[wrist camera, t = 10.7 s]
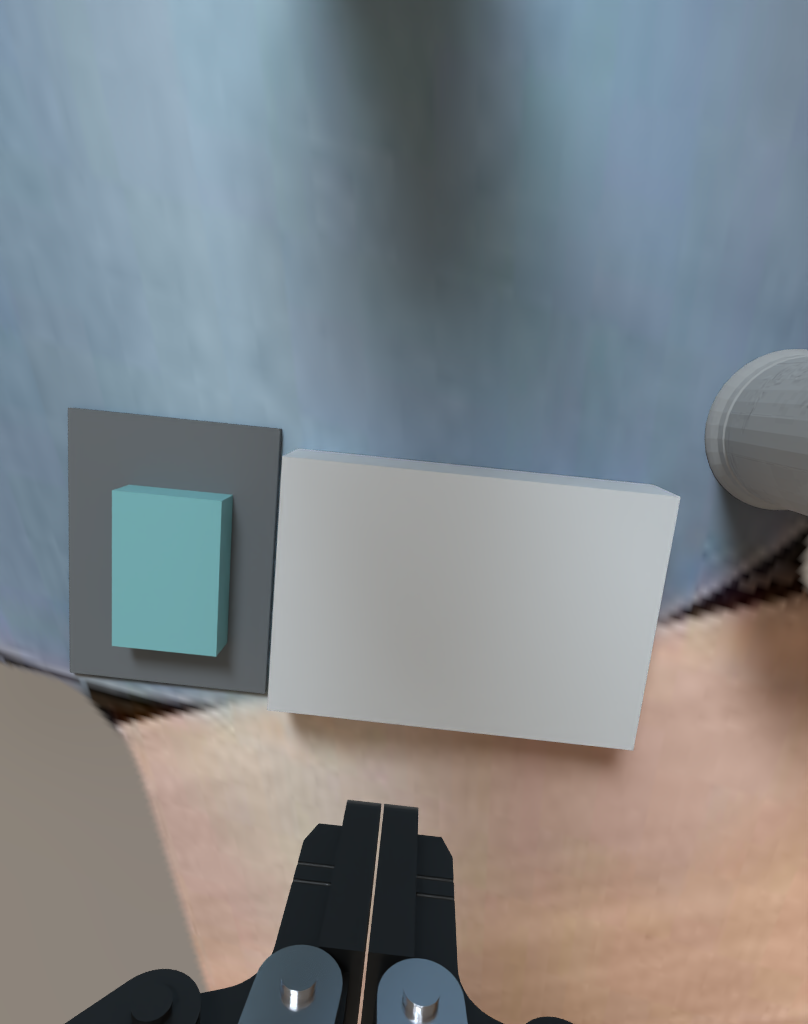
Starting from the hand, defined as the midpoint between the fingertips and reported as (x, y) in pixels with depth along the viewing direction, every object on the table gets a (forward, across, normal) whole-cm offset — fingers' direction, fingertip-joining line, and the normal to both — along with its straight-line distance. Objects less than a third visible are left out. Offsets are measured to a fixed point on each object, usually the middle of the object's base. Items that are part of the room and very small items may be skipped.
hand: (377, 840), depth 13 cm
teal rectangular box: (+22, +13, +3) cm, 26 cm away
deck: (+24, -3, +2) cm, 24 cm away
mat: (+24, +14, +2) cm, 28 cm away
